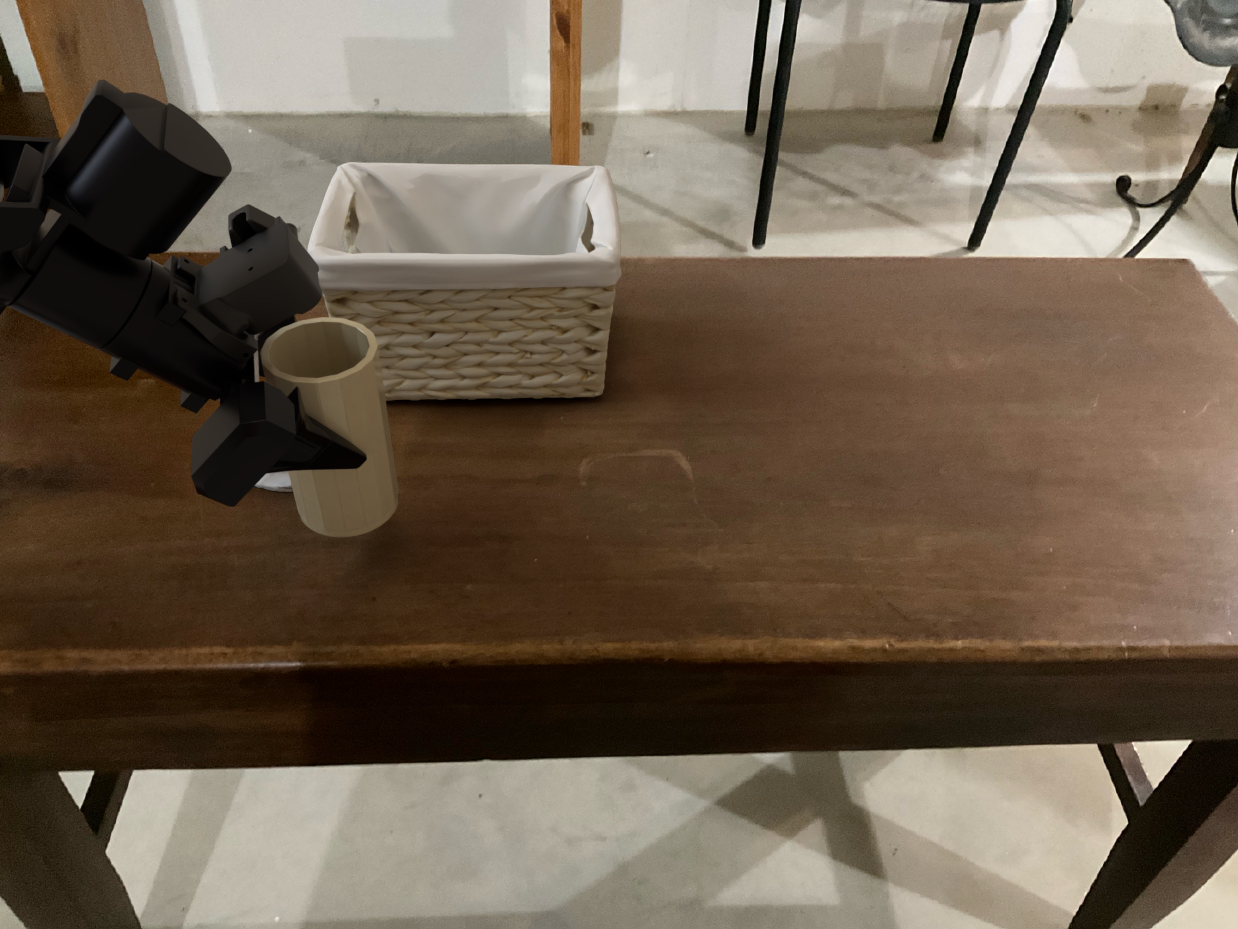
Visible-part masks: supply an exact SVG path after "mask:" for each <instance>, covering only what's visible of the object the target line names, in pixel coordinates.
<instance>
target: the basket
mask: <svg viewBox="0 0 1238 929" xmlns="http://www.w3.org/2000/svg"><path fill="white" fill-rule="evenodd" d="M616 193H617V192H616V191H615V187H614V183H613V179H612V176H611V173H610V170H609V169H607V167H605V166H603V165H597V164H595V165H570V164H542V163H541V164H539V163H537V164H528V163H527V164H524V163H523V164H520V163H519V164H515V163H514V164H513V163H512V164H509V163H508V164H495V163H494V164H490V163H489V164H485V163H484V164H483V163H482V164H479V163H478V164H469V163H467V164H465V163H464V164H463V163H462V164H459V163H458V164H456V163H448V164H447V163H414V162H413V163H409V162H408V163H407V162H356V161H349V162H345V163H341V164H340V165H337V168H336V170H335V173H334V175H333V176H332V177H331V179H330V183H329V184H328V187H327V190H326V192H325V194H324V198H323V199H322V200H323V201H322V204H321V206H320V208H319V211H318V215H317V218H316V220H315V222H314V225H313V228H312V231H311V233H310V236H309V240H308V244H307V249H306V250H307V252H308V253H309V254H310V256H311V257H312V258H313V259H314V261H315V262H316V263H317V264H318V266H319V272H318V278H319V285H320V287H321V289H322V297H323V299H324V304H325V308H326V311H327V313H328V317H329V318H343V319H347V320H351V321H354V322H357V323H360V324H362V325H364V326H365V327H366V328H368V329H369V330H370V331H371V332H373V334H374V335H375V338H376V341H377V344H378V350H379V357H380V364H381V371H382V377H383V384H384V391H385V398H386V402H391V401H398V400H402V401H405V400H410V401H420V400H440V401H446V400H457V399H458V400H459V399H460V400H466V399H467V400H470V401H472V400H477V399H503V400H511V399H527V398H529V399H537V400H538V399H544V398H565V399H573V398H595V397H599V396H601V395H603V393H604V389H605V379H606V370H607V359H608V349H609V348H608V347H609V336H610V332H611V322H612V316H613V313H614V303H615V300H616V294H617V293H616V291H617V290H616V284H617V283H618V281H619V280H620V279H621V277H622V268H621V259H622V252H621V250H622V245H621V244H622V236H621V234H622V233H621V222H620V213H619V204H618V199H617V194H616ZM343 237H344V239H345V242H346V245H347V247H348V252H346V250H345V246H344V240H343Z"/></svg>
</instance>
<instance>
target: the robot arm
mask: <svg viewBox="0 0 1238 929" xmlns="http://www.w3.org/2000/svg"><path fill="white" fill-rule="evenodd" d="M232 167H233V166H232V163H231V160H230V158H229V156H228V155H227V153H226V151H225V150H224V148H223V146H221V145H220V143H219V142H218V141H217V139H216V138H214V136H213V135H212V134H211V133H210V132H209V131H208V130H207V129H206V128H205V127H204V126H202V125H201V123H200V122H198V121H197V120H195V119H194V118H193V117H191V115H189V113H186V112H185V111H183V109H181V108H179V107H177V105H174V104H173V103H171V102H168V103H167V104H166V103H163V102H162V101H161V100H158V99H156V98H154V97H152V96H149V95H147V94H143V93H139V92H136V91H135V92H134V91H133V92H131V91H130V92H124V91H122V90H121V89H120V88H118V87H116V86H115V85H114V84H112V83H111V82H109V81H107V80H106V79H98V80H96V82H95V84H94V85H93V86H92V88H91V89H90V91H89V92H88V94H87V95H86V97H85V99H84V101H83V105H82V108H81V111H80V112H79V114H78V116H77V117H76V119H75V120H74V121H73V123H72V124H70V127H69V128H68V129H67V131H66V132H65V134H64V135H63V137H62V138H61V139H59V138H56V137H45V136H27V135H26V136H25V135H5V134H0V316H2V314H3V312H4V311H6V309H7V308H8V307H9V308H10V309H13V310H15V311H17V312H19V313H22V314H24V315H25V316H27V317H30V318H32V319H34V320H36V321H37V322H40V323H42V324H43V325H46V326H48V327H50V328H52V329H54V330H56V331H59V332H60V333H62V334H65V335H67V336H69V337H71V338H73V339H74V340H77V341H79V342H81V343H82V344H83V343H84V344H86V345H88V346H90V347H91V348H94V349H96V350H97V351H100V352H102V353H103V354H106V355H108V356H110V357H111V359H110V364H109V365H110V366H109V371H108V372H109V374H111V375H112V376H113V375H114V376H116V377H118V378H120V379H121V380H123V381H125V382H128V381H129V380H130V379H131V378H132V377H133V375H134V374H135V373H136V372H137V370H139V371H142V372H143V373H146V374H147V375H150V376H152V377H154V378H155V379H157V380H159V381H162V382H164V383H166V384H168V385H170V386H173V387H175V388H177V389H178V390H180V400H179V401H180V403H179V406H180V407H181V408H184V409H186V410H188V411H190V412H192V413H194V414H196V415H197V414H198V413H199V411H200V410H201V409H202V408H203V407H204V406H205V405H206V404H207V403H208V401H209V400H212V401H214V402H216V401H217V400H218V401H219V406H217V408H216V409H215V410H214V411H213V413H211V415H210V416H209V417H208V418H207V419H206V420H205V422H204V423H202V425H201V426H200V427H199V428H198V429H197V430H196V431H195V432H194V434H193V435H192V438H191V439H192V443H191V444H192V445H191V468H190V469H191V470H190V471H191V474H190V477H191V480H192V483H193V486H194V488H195V491H196V494H197V495H200V496H202V497H204V498H207V499H208V500H209V499H210V500H212V501H215V502H216V503H219V504H221V505H223V506H226V507H232V508H235V507H236V506H237V505H238V504H239V503H240V502H241V501H242V500H243V499H244V498H245V496H246V495H248V493H249V492H250V491H251V490H252V489H253V488H255V487H256V486H255V485H256V484H257V483H258V482H259V481H260V480H261V478H262V477H263V476H264V475H265V474H267V473H276V472H284V471H299V470H334V469H357V468H359V467H360V466H361V465H362V464H363V463H364V462H365V461H366V460H367V455H366V454H365V453H364V452H363V451H361V450H360V449H359V448H358V447H356V446H355V445H354V444H352V443H351V442H349V441H348V440H346V439H345V438H343V437H342V436H340V435H338V434H337V433H335V432H334V431H332V430H331V429H329V428H328V427H326V426H324V425H323V424H321V423H320V422H318V421H317V420H315V419H314V418H312V417H310V416H309V415H308V414H307V413H306V412H305V409H304V405H303V400H302V396H301V392H300V389H299V387H298V386H296V387H295V389H294V390H293V391H292V392H291V393H290V394H289V395H288V396H286V395H285V394H284V393H283V392H282V391H281V390H280V389H278V388H276V387H275V386H273V385H271V384H269V383H267V382H266V380H261V381H260V377H262V378H265V375H264V371H263V367H262V362H261V357H260V351H261V349H262V347H263V345H264V343H265V341H266V340H267V338H269V337H270V336H271V335H273V334H274V333H275V332H277V331H278V330H279V329H281V328H283V327H285V326H288V325H290V324H293V323H295V322H298V320H297V316H296V315H304V314H306V313H307V312H310V311H311V310H313V309H314V308H315V307H317V306H318V304H319V303H320V301H321V300H322V297H323V293H322V289H321V287H320V285H319V278H318V272H319V266H318V264H317V263H316V262H315V261H314V259H313V258H312V257H311V256H310V254H309V253H308V252H307V250H308V249H306V248H305V247H304V245H303V244H302V242H300V240H299V233H298V228H297V226H296V225H295V224H294V223H291V222H285V221H284V220H283V218H282V217H281V216H280V215H278V216H276V217H275V216H273V215H271V214H269V213H268V212H266V211H263V210H262V209H259V208H258V207H255V206H254V205H252V204H249V203H247V204H245V205H244V206H241V207H240V208H238V209H236V210H234V211H232V212H230V213H229V214H228V216H227V231H228V236H229V239H230V240H229V241H230V245H231V247H230V248H228V246H226V245H223V246H221V247H219V256H218V257H217V258H215V259H214V260H212V261H210V262H209V263H207V264H206V265H204V266H203V265H201V264H199V263H196V262H194V261H193V260H191V259H189V258H188V257H186V256H183V255H182V256H179V257H177V256H175V255H174V254H171V255H170V257H168V259H167V260H166V261H165V263H164V264H163V265H162V264H160V263H158V262H157V261H155V260H154V259H152V258H150V257H149V256H150V255H162V254H164V253H166V252H168V251H169V250H170V249H171V247H172V246H173V245H174V244H175V242H176V241H177V240H178V239H179V237H180V236H181V235H182V234H183V232H185V230H186V228H187V227H188V226H189V225H190V224H191V222H193V220H194V219H195V218H196V216H197V215H198V214H199V212H201V211H202V209H203V208H204V206H205V205H206V204H207V203H208V202H209V200H210V199H211V198H212V196H213V195H214V194H215V193H216V192H217V190H218V189H219V188H220V187H221V185H222V184H223V183H224V182H225V180H226V179H227V178H228V177H229V175H230V174H231V173H232V171H233V170H232V169H233V168H232ZM7 189H8V190H7ZM5 190H7V193H6V196H5ZM4 196H5V199H4ZM3 199H4V200H3Z"/></svg>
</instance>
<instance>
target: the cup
mask: <svg viewBox="0 0 1238 929" xmlns="http://www.w3.org/2000/svg"><path fill="white" fill-rule="evenodd" d="M260 357H261V362H262V367H263V371H264V375H265V377H264V378H265V382H267V383H269V384H271V385H273V386H275V387H276V388H278V389H280V390H281V391H282V392H283V393H284V394H285V395H286V396H288V395H289V394H290V393H291V392H292V391H293V390H294V389H295V387H296V386H298V387H299V389H300V392H301V396H302V400H303V405H304V409H305V412H306V413H307V414H308V415H309V416H310V417H312V418H314V419H315V420H317V421H318V422H320V423H321V424H323V425H324V426H326V427H328V428H329V429H331V430H332V431H334V432H335V433H337V434H338V435H340V436H342V437H343V438H345V439H346V440H348V441H349V442H351V443H352V444H354V445H355V446H356V447H358V448H359V449H360V450H361V451H363V452H364V453H365V454H366V455H367V460H366V461H365V462H364V463H363V464H362V465H361V466H360V467H359V468H357V469H334V470H299V471H288V473H289V477H290V481H291V485H292V489H293V492H292V493H293V497H294V500H295V505H296V509H297V513H298V516H299V518H300V520H301V522H302V523H303V524H304V525H305V526H306V527H307V528H308V529H309V530H311V531H312V532H314V533H317V534H319V535H322V536H325V537H330V538H331V537H332V538H352V537H356V536H361V535H364V534H367V533H369V532H372V531H374V530H377V529H378V528H380V527H381V526H383V525H384V524H385V523H387V522H388V521H389V520H390V519H391V517H393V515H394V513H395V512H396V510H397V508H398V505H399V502H400V494H399V493H400V490H399V484H398V474H397V468H396V462H395V461H396V460H395V455H394V449H393V441H392V433H391V426H390V419H389V413H388V405H387V401H386V398H385V391H384V384H383V377H382V371H381V364H380V357H379V350H378V344H377V341H376V338H375V335H374V334H373V332H371V331H370V330H369V329H368V328H366V327H365V326H364V325H362V324H360V323H357V322H354V321H351V320H347V319H343V318H329V316H326V317H325V316H321V317H313V318H307V319H302V320H297V322H295V323H293V324H290V325H288V326H285V327H283V328H281V329H279V330H278V331H277V332H275V333H274V334H273V335H271V336H270V337H269V338H267V340H266V341H265V343H264V345H263V347H262V349H261V351H260Z"/></svg>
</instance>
